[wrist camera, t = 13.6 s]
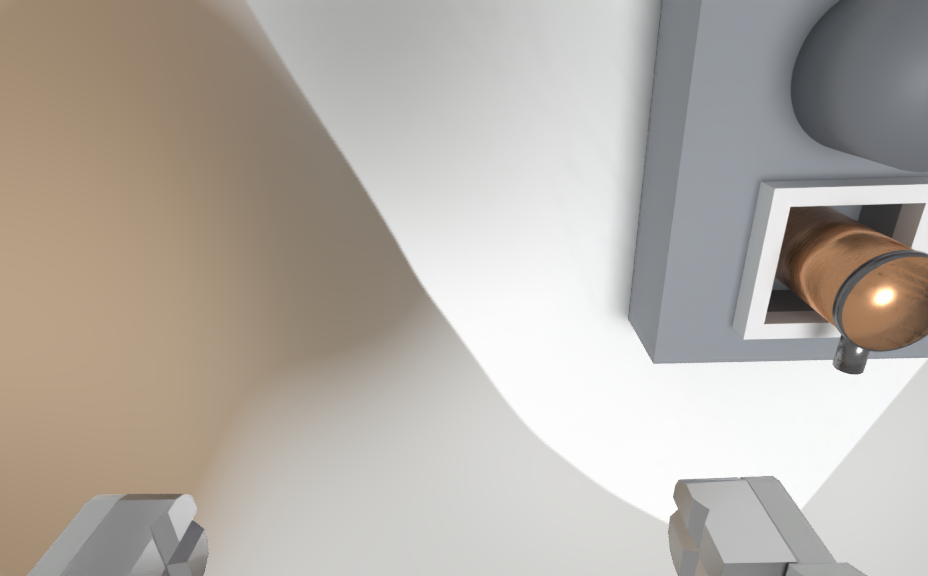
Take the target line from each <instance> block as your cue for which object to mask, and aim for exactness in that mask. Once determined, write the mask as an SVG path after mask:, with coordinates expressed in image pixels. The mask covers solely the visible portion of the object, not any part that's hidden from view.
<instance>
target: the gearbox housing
mask: <svg viewBox="0 0 928 576" xmlns="http://www.w3.org/2000/svg"><path fill="white" fill-rule="evenodd" d="M801 206H828V207H830V208H832V209H834V210H836V211H838V212H840V213H842V214H844V215H846V216H848V217H850V218H852V219H854V220H856V221H858V222H860V223H862V224H864V225H866V226H868V227H870V228H872V229H874V230H876V231H878V232H880V233H882V234H884V235H886V236H888V237H890V238H892V239H894V240H896V241H898V242H900V243H902V244H904V245H906V246H908V247H910V248H912V249H914V250H917V251H921V252H924V253H927V254H928V0H662V6H661V16H660V25H659V35H658V44H657V54H656V63H655V73H654V82H653V92H652V101H651V110H650V120H649V129H648V139H647V148H646V158H645V167H644V177H643V186H642V195H641V205H640V214H639V224H638V233H637V243H636V252H635V262H634V271H633V281H632V290H631V299H630V309H629V318H628V319H629V321H630V323H631V325H632V326H633V328H634V330H635V332H636V333H637V335H638V337H639V339H640V341H641V342H642V344H643V346H644V348H645V349H646V351H647V353H648V355H649V356H650V358H651V360H652V362H653V364H661V363H706V362H750V361H795V360H834V357H835V354H836V350H837V347H838V344H839V340H840V337H841V334H840V333H839V331H838V330H837V328H836V327H835V326H833V325H832V324H831V323H830V322H829V321H827V320H826V319H825V318H824V317H823V316H821V315H820V314H819V313H818V312H817V311H815V310H814V309H813V308H812V307H810V306H809V305H808V304H807V303H806V302H804V301H803V300H802V299H801V298H800V297H798V296H797V295H796V294H795V293H794V292H792V291H791V290H790V289H789V288H787V287H786V286H785V285H784V284H783V283H781V282H780V281H779V280H778V279H777V278H775V273H776V269H777V264H778V260H779V255H780V251H781V246H782V242H783V238H784V233H785V229H786V224H787V220H788V215H789V211H790V207H801ZM885 358H928V335H927V336H926V337H924V338H923V339H921V340H919V341H918V342H916V343H914V344H912V345H909V346H907V347H904V348H901V349H897V350H893V351H885V352H874V351H870V353H869V356H868V359H885Z"/></svg>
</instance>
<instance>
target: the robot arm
mask: <svg viewBox="0 0 928 576" xmlns="http://www.w3.org/2000/svg"><path fill="white" fill-rule="evenodd" d="M673 498H674V500H675V503H676V505H677V507H678V510H677V511H676V512H675V513H674V514H673V515H672V516H671V517H670V522H669V531H668V534H669V545H670V552H671V556H672V560H673V564H674V566H675V569H676V571H677V574H678V576H867V575H865V574H864V573H862V572H861V571H859V570H858V569H856V568H855V567H853V566H852V565H850V564H849V563H837V562H836V560H835V559H834V558H833V556H832V555H831V554H830V552H829V551H828V549H827V548H826V546H825V545H824V544H823V542H822V541H821V539H820V538H819V536H818V535H817V534H816V532H815V531H814V529H813V528H812V526H811V525H810V524H809V522H808V521H807V519H806V518H805V517H804V515H803V514H802V512H801V511H800V509H799V508H798V507H797V505H796V504H795V502H794V501H793V499H792V498H791V497H790V495H789V494H788V492H787V491H786V489H785V488H784V487H783V485H782V484H781V482H780V481H779V480H778V479H776V478H775V477H773V476H762V477H741V478H737V477H736V478H710V479H683V480H678V482H677V484H676V485H675V490H674V495H673ZM196 512H197V507H196V505H195V502H194V500H193V498H192V496H191V495H186V494H127V495H98V496H96V497H94V498H92V499H90V500H89V501H88V502H87V503H86V504H85V505H84V507H83V508H82V509H81V510H80V512H79V513H78V514H77V515H76V516H75V518H74V519H73V520H72V521H71V522H70V524H69V525H68V526H67V527H66V528H65V530H64V531H63V532H62V533H61V535H60V536H59V537H58V538H57V539H56V541H55V542H54V543H53V544H52V546H51V547H50V548H49V549H48V550H47V552H46V553H45V554H44V555H43V557H42V558H41V559H40V560H39V561H38V563H37V564H36V565H35V566H34V567H33V569H32V570H31V571H30V573H29V574H28V575H27V576H203V574H204V572H205V568H206V563H207V558H208V554H209V553H208V539H207V536H206V533H205V530H204V529H203V528H202V527H201V526H200V525H198V524H197V523H196V522H194V521H193V520H192V519H193V517H194V516H195V514H196Z"/></svg>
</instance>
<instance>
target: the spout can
mask: <svg viewBox="0 0 928 576" xmlns="http://www.w3.org/2000/svg"><path fill="white" fill-rule="evenodd" d="M775 278H777V279H778V280H779V281H780V282H781V283H783V284H784V285H785V286H786V287H787V288H789V289H790V290H791V291H792V292H794V293H795V294H796V295H797V296H798V297H800V298H801V299H802V300H803V301H804V302H806V303H807V304H808V305H809V306H810V307H812V308H813V309H814V310H815V311H817V312H818V313H819V314H820V315H821V316H823V317H824V318H825V319H826V320H827V321H829V322H830V323H831V324H832V325H833V326H835V327H836V328H837V330H838V331H839V333H840V334H841V337H840V340H839V344H838V347H837V350H836V354H835V357H834V360H833V366H834V367H835V368H836V369H838V370H840V371H842V372H845V373H848V374H861V373H863V371H864V368H865V365H866V362H867V359H868V356H869V353H870V351H874V352H885V351H893V350H897V349H901V348H904V347H907V346H909V345H912V344H914V343H916V342H918V341H919V340H921V339H923V338H924V337H926V336H927V335H928V254H927V253H924V252H921V251H917V250H914V249H912V248H910V247H908V246H906V245H904V244H902V243H900V242H898V241H896V240H894V239H892V238H890V237H888V236H886V235H884V234H882V233H880V232H878V231H876V230H874V229H872V228H870V227H868V226H866V225H864V224H862V223H860V222H858V221H856V220H854V219H852V218H850V217H848V216H846V215H844V214H842V213H840V212H838V211H836V210H834V209H832V208H830V207H828V206H801V207H790V211H789V215H788V220H787V224H786V229H785V233H784V238H783V242H782V246H781V251H780V255H779V260H778V264H777V269H776V273H775Z"/></svg>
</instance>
